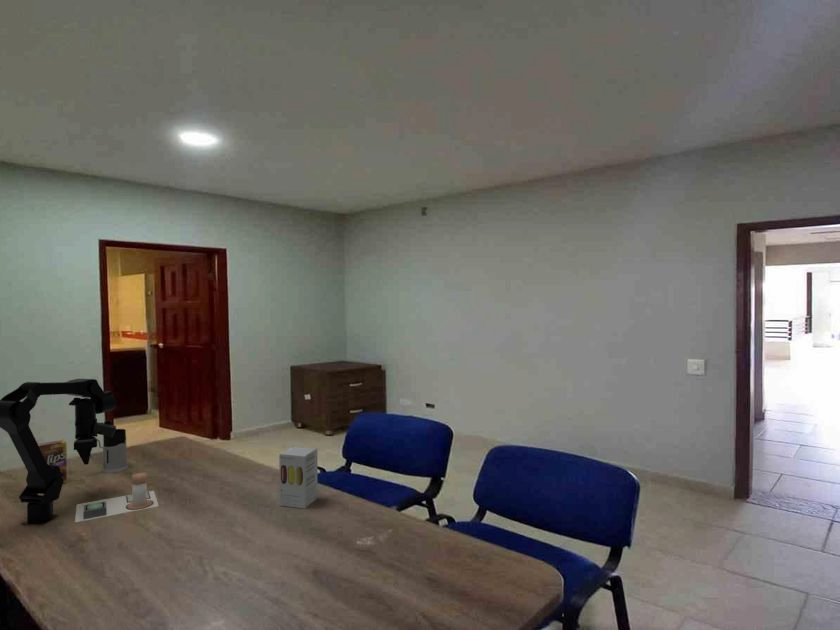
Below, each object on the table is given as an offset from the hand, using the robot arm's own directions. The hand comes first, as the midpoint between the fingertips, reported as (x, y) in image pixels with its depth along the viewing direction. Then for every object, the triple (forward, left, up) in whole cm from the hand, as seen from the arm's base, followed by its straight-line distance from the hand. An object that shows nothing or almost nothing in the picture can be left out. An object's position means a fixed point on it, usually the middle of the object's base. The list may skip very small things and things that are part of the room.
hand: (86, 464), depth 167 cm
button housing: (-12, -10, -12) cm, 20 cm away
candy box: (+16, +22, -12) cm, 30 cm away
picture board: (-6, -13, -12) cm, 19 cm away
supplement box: (-5, -70, -12) cm, 71 cm away
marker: (-6, -20, -11) cm, 24 cm away
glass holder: (+30, +10, -12) cm, 34 cm away
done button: (-12, -10, -10) cm, 19 cm away
